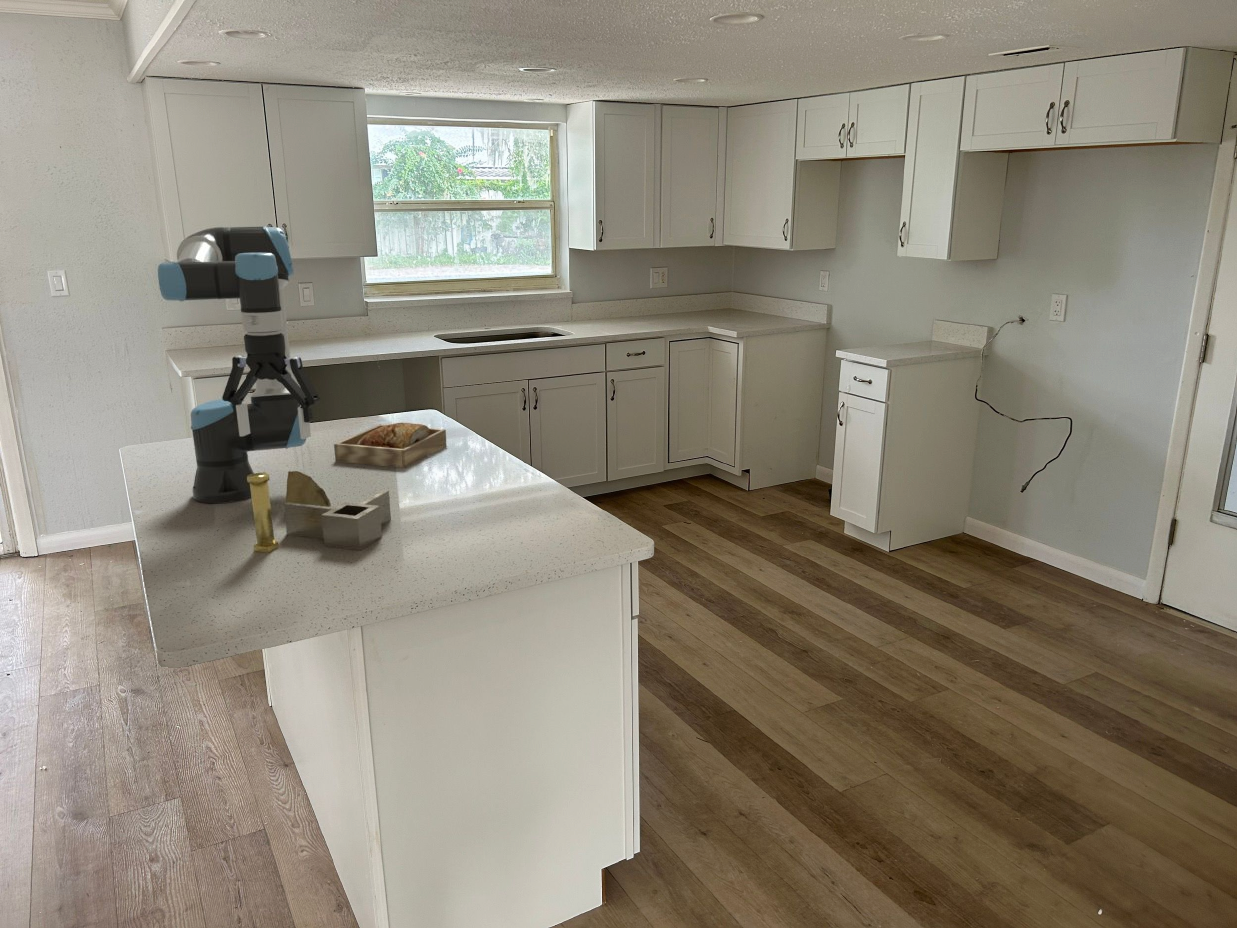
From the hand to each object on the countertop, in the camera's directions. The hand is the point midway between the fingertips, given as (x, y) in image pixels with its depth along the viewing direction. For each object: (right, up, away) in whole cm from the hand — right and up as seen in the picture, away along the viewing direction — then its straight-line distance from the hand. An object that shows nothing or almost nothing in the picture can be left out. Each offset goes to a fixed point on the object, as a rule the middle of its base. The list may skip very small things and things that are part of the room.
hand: (275, 436), depth 182 cm
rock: (-2, -17, +26) cm, 31 cm away
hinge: (+10, -20, +14) cm, 26 cm away
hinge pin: (-3, -23, +3) cm, 24 cm away
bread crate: (+5, -3, +74) cm, 74 cm away
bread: (+6, -3, +73) cm, 74 cm away
